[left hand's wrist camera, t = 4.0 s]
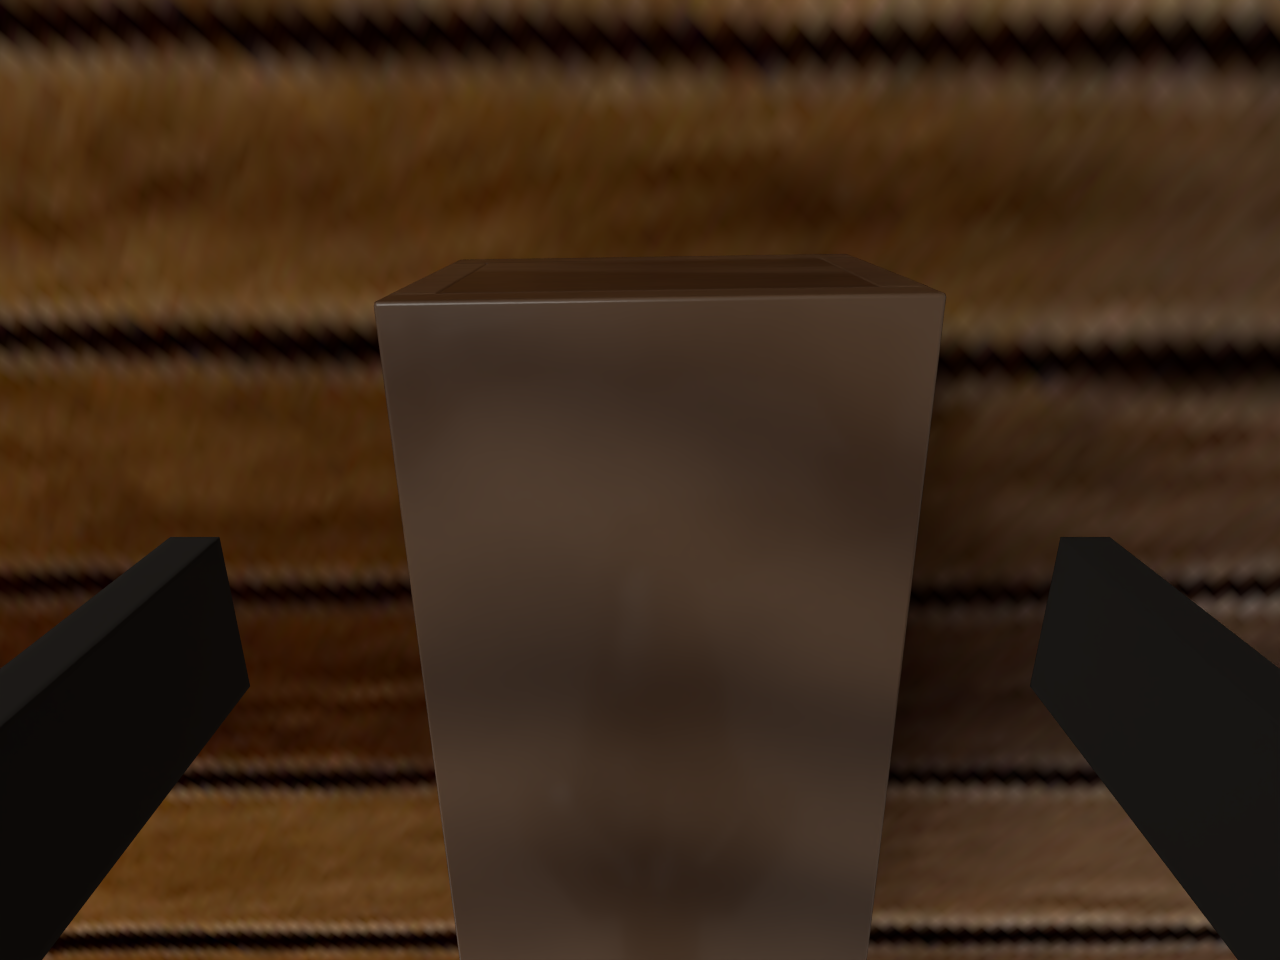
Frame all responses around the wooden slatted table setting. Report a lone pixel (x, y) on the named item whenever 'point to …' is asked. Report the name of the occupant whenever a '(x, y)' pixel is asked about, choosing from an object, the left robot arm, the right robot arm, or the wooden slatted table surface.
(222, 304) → the wooden slatted table surface
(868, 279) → the cabinet
